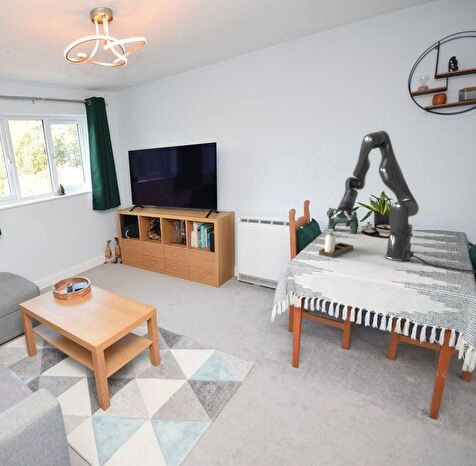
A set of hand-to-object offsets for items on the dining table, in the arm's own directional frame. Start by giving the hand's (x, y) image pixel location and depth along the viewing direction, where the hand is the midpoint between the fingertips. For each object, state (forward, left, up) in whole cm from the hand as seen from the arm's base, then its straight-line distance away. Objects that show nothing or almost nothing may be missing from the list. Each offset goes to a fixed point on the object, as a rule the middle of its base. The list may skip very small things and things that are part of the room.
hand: (338, 225), depth 192 cm
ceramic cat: (+19, -42, -16) cm, 49 cm away
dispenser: (-2, +11, -16) cm, 19 cm away
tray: (-2, +4, -16) cm, 17 cm away
